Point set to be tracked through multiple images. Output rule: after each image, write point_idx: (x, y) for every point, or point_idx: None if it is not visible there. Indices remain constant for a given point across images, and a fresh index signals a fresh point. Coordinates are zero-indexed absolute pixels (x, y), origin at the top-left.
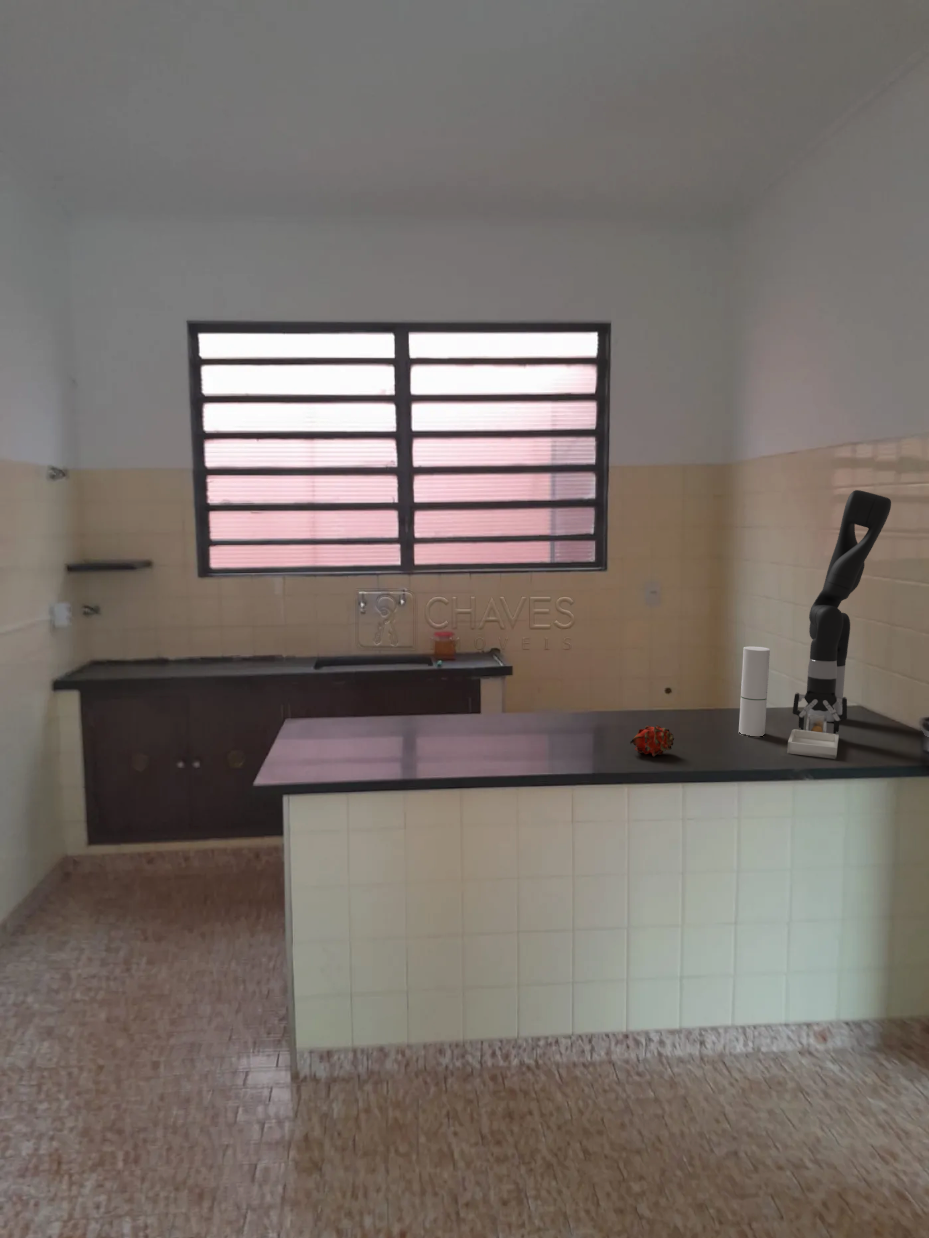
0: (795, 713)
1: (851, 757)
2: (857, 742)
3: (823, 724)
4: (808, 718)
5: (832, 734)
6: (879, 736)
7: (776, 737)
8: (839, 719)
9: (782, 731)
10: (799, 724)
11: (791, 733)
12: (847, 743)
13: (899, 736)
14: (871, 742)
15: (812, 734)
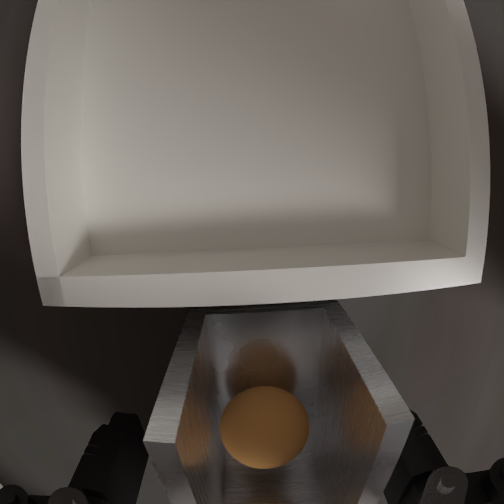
0: (497, 469)
1: (19, 12)
2: (35, 382)
3: (181, 414)
4: (378, 475)
5: (82, 273)
6: (36, 476)
7: (500, 257)
8: (52, 494)
9: (447, 407)
10: (415, 425)
11: (481, 94)
12: (58, 343)
13: (7, 477)
14: (4, 399)
15: (295, 260)
